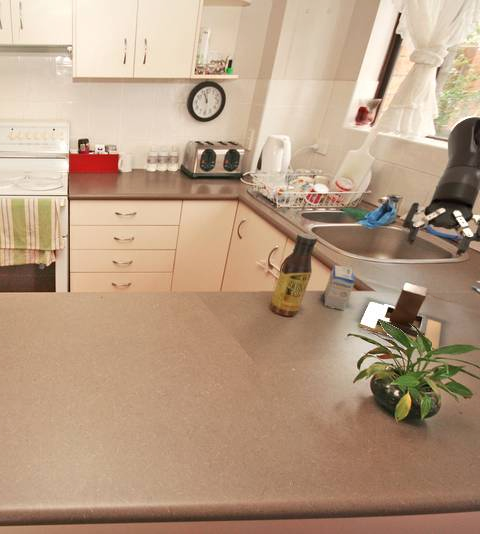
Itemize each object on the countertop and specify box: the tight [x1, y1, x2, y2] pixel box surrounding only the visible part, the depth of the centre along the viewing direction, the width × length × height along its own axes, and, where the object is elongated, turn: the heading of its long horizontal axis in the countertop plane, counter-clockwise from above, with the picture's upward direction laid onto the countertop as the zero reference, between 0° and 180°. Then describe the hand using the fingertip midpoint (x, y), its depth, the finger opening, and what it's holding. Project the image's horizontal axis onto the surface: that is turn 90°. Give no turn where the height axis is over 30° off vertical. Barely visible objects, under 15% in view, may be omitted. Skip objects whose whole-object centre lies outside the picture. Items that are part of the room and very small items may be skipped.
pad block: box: [389, 282, 428, 327], centre depth 88 cm, size 4×5×9 cm
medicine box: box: [323, 264, 356, 311], centre depth 98 cm, size 8×4×9 cm, turn 150°
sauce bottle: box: [270, 232, 318, 317], centre depth 91 cm, size 7×6×20 cm
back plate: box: [358, 301, 442, 350], centre depth 90 cm, size 14×14×2 cm
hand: (434, 248), depth 89 cm, fingers open, 8 cm apart
